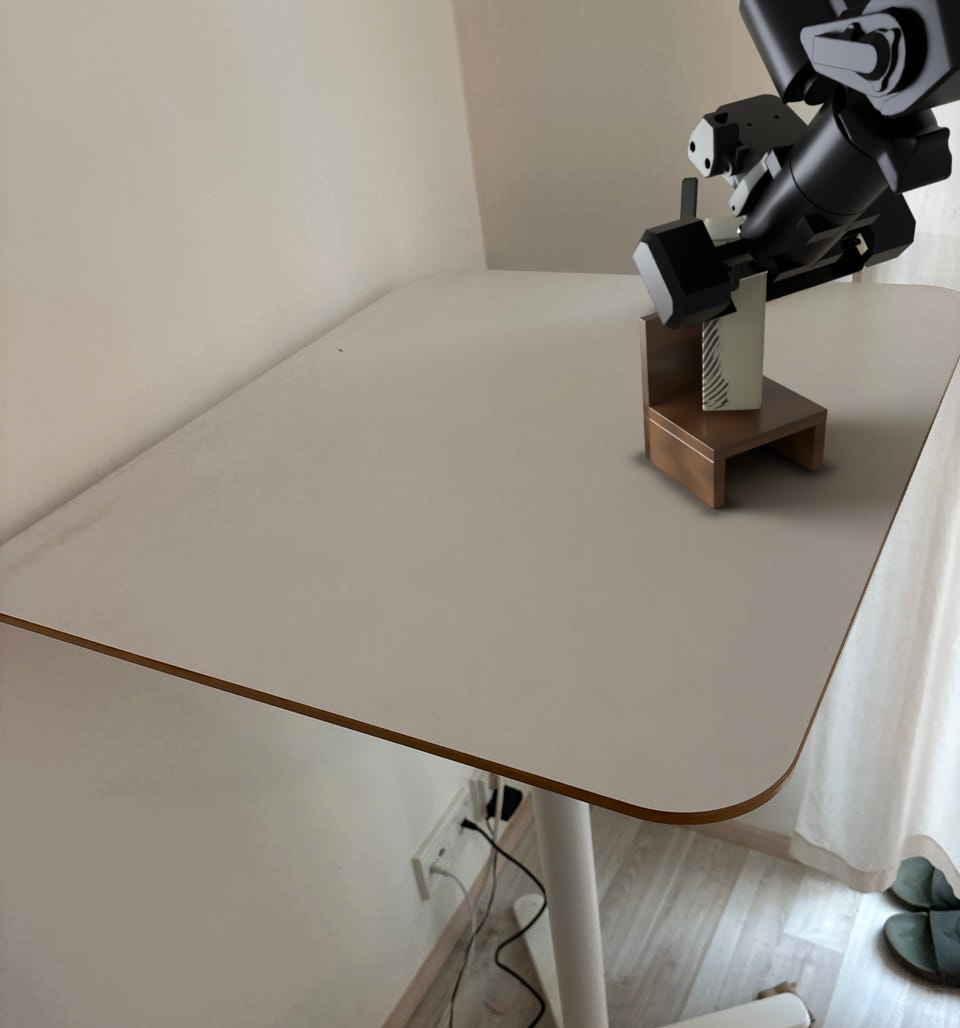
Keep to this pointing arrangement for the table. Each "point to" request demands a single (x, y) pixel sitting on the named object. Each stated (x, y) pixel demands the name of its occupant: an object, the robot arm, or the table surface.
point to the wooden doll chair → (714, 415)
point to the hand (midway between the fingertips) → (724, 309)
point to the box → (735, 337)
